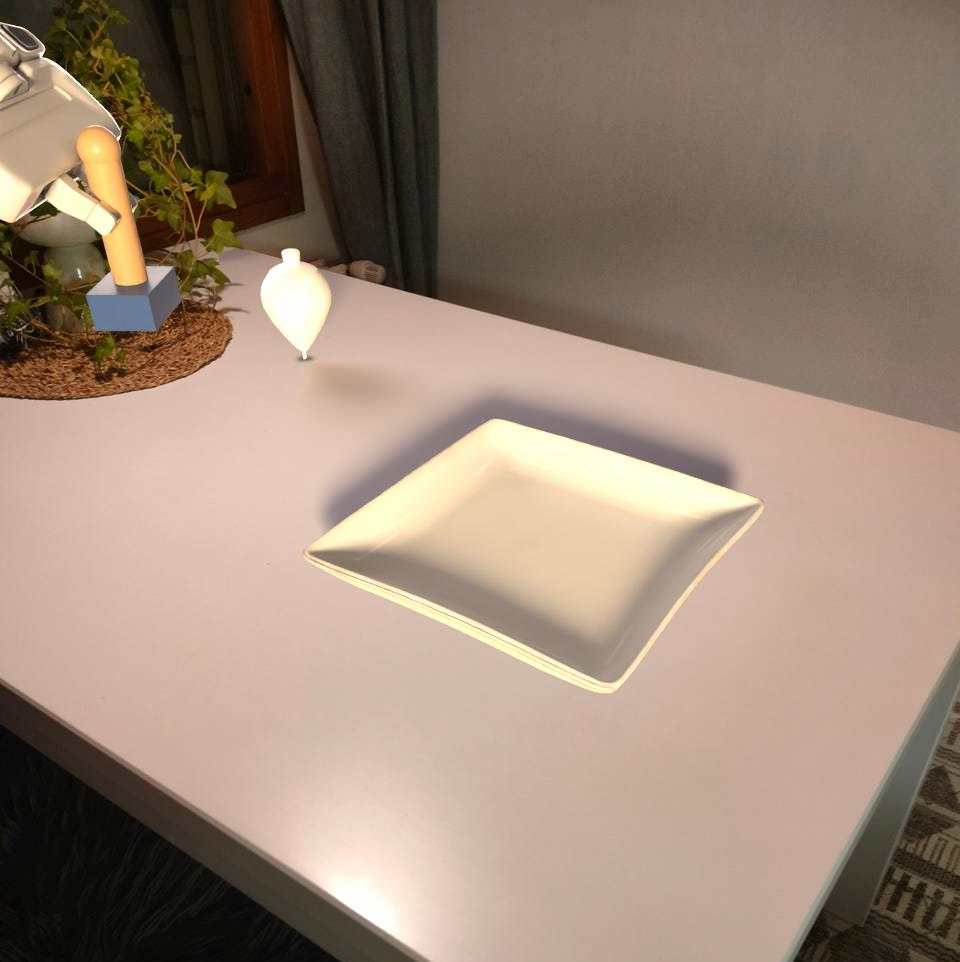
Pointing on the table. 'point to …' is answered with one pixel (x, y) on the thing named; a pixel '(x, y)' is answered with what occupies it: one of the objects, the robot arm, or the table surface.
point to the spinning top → (296, 299)
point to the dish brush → (123, 248)
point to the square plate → (541, 547)
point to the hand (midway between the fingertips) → (123, 219)
